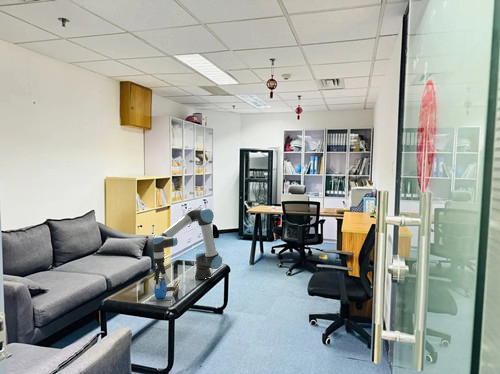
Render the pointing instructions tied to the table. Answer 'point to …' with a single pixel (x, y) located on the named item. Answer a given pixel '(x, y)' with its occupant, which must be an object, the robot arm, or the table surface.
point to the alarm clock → (161, 289)
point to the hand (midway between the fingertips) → (160, 285)
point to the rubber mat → (167, 298)
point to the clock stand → (173, 289)
